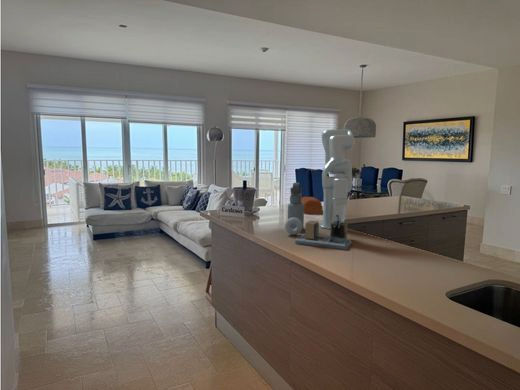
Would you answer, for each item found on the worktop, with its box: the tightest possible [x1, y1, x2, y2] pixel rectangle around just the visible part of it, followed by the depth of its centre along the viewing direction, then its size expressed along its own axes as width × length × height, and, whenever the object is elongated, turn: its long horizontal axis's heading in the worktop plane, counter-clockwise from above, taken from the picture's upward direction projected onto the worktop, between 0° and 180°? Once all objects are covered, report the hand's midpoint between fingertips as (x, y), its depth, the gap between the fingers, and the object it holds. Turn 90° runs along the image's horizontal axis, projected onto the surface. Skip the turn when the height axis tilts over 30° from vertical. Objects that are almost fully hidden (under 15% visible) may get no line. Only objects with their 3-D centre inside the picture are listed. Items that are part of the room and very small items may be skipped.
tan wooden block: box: [329, 222, 349, 239], centre depth 188 cm, size 5×8×9 cm, turn 65°
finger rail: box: [294, 220, 352, 251], centre depth 179 cm, size 12×26×11 cm, turn 65°
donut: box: [284, 218, 304, 236], centre depth 197 cm, size 10×3×10 cm, turn 91°
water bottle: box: [287, 182, 305, 230], centre depth 211 cm, size 10×10×28 cm
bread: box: [301, 196, 323, 215], centre depth 276 cm, size 16×27×11 cm, turn 3°
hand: (338, 233), depth 188 cm, fingers open, 9 cm apart
